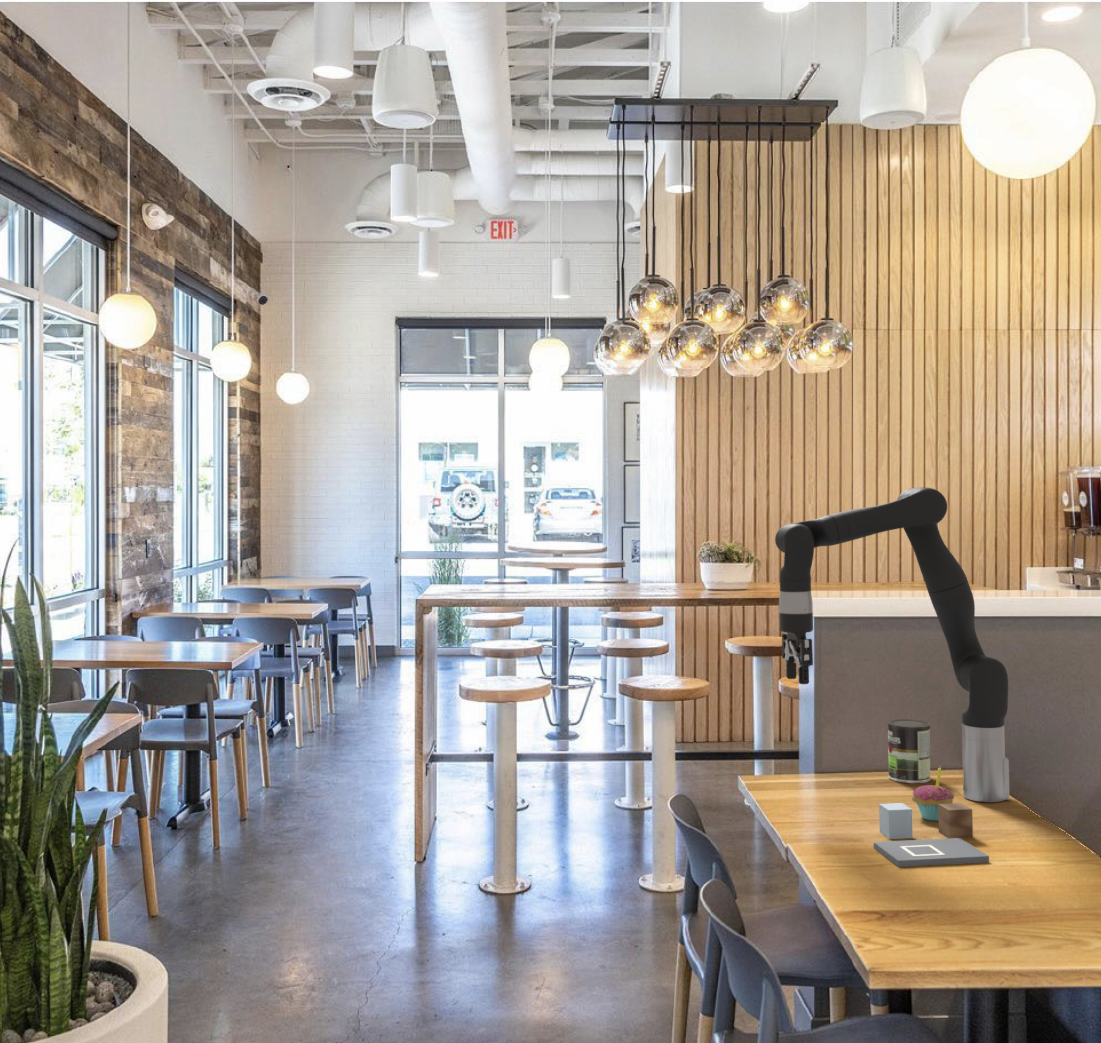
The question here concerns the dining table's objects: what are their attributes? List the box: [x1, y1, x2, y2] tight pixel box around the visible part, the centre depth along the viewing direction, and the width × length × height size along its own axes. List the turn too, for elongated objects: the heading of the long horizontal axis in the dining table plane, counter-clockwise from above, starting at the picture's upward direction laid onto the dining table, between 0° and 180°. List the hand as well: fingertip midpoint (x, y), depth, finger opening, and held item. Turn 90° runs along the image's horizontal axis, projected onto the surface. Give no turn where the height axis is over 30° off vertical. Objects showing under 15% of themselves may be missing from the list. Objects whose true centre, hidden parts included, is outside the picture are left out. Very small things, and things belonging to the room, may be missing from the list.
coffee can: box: [886, 718, 932, 784], centre depth 276 cm, size 10×10×14 cm
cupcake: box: [911, 764, 954, 821], centre depth 240 cm, size 9×8×12 cm
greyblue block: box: [878, 802, 914, 840], centre depth 228 cm, size 5×5×6 cm
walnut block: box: [937, 802, 974, 840], centre depth 227 cm, size 5×5×6 cm
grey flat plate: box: [873, 838, 990, 868], centre depth 214 cm, size 18×12×1 cm, turn 95°
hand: (797, 681), depth 251 cm, fingers open, 8 cm apart
